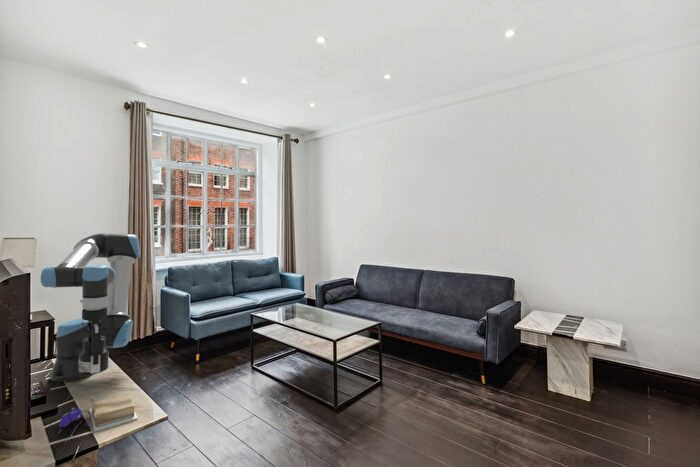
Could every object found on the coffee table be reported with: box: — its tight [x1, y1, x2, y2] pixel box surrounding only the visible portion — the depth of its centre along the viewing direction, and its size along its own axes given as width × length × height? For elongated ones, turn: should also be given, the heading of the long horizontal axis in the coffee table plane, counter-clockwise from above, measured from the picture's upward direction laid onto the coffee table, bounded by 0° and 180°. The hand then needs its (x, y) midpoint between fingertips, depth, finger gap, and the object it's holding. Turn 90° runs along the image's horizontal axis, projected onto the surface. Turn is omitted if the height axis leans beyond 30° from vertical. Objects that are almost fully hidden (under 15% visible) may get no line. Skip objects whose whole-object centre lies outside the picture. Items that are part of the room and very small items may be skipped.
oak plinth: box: [91, 393, 135, 426], centre depth 122 cm, size 11×11×3 cm
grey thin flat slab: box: [88, 407, 138, 432], centre depth 122 cm, size 16×12×1 cm
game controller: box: [49, 407, 91, 433], centre depth 114 cm, size 10×8×10 cm
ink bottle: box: [79, 336, 109, 376], centre depth 129 cm, size 10×9×12 cm
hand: (93, 367), depth 130 cm, fingers closed on ink bottle, 9 cm apart
